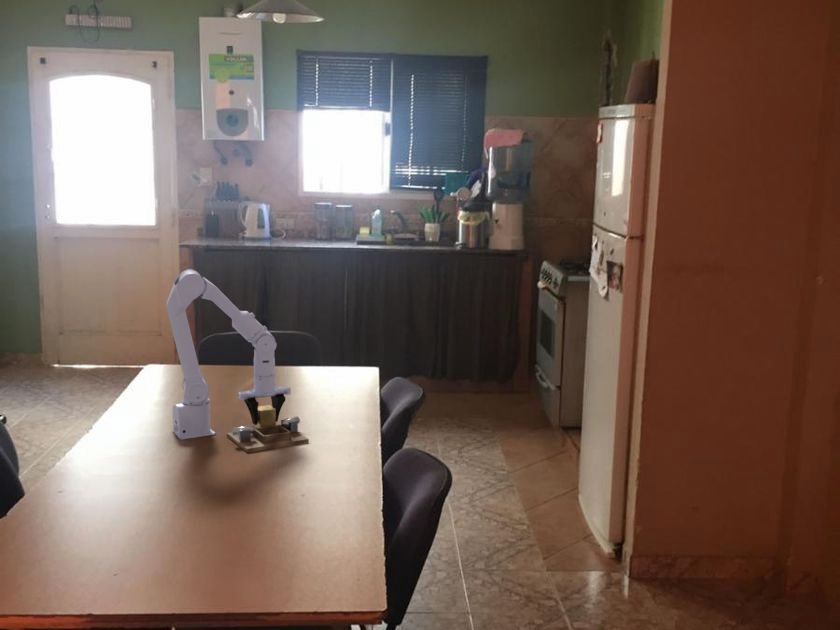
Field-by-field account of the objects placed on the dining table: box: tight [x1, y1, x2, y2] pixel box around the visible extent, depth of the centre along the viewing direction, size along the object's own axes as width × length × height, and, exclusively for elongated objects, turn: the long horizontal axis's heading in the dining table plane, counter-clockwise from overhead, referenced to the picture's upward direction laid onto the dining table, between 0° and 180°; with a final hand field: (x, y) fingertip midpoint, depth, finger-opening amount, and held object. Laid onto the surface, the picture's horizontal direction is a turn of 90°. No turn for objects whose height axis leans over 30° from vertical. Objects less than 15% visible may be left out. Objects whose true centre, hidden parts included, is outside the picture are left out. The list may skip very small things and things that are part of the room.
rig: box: [226, 424, 309, 454], centre depth 230 cm, size 17×15×3 cm
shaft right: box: [280, 416, 301, 434], centre depth 234 cm, size 5×4×4 cm
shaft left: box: [231, 425, 256, 443], centre depth 226 cm, size 6×4×4 cm, turn 110°
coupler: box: [253, 404, 277, 428], centre depth 241 cm, size 5×4×6 cm
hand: (265, 422), depth 241 cm, fingers closed on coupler, 5 cm apart
